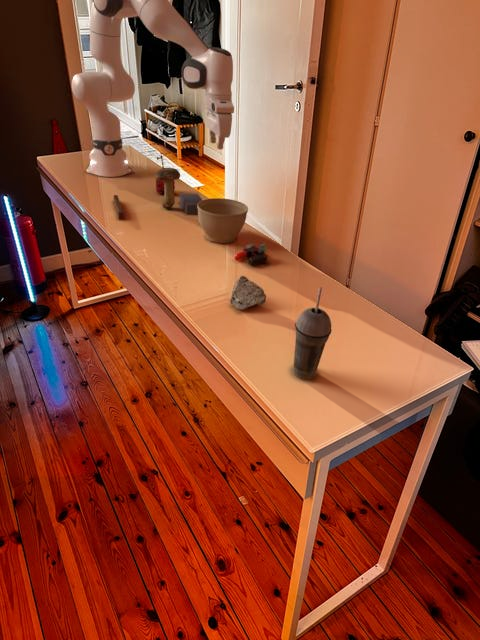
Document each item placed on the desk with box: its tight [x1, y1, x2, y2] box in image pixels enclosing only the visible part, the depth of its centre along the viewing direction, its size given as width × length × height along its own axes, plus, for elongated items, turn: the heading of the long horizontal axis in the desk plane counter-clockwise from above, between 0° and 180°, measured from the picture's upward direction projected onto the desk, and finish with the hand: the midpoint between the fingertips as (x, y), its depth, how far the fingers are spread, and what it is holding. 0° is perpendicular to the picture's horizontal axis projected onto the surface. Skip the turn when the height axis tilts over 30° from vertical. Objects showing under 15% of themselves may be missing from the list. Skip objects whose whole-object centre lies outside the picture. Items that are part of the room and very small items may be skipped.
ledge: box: [112, 194, 124, 221], centre depth 169 cm, size 18×2×2 cm, turn 18°
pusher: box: [179, 193, 203, 215], centre depth 177 cm, size 12×7×4 cm, turn 18°
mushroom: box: [155, 167, 181, 210], centre depth 171 cm, size 9×9×15 cm
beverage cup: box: [293, 286, 332, 381], centre depth 95 cm, size 7×7×20 cm
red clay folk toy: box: [155, 152, 176, 196], centre depth 186 cm, size 8×7×15 cm
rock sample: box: [229, 275, 267, 310], centre depth 121 cm, size 10×8×9 cm
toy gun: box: [233, 242, 269, 267], centre depth 144 cm, size 10×12×5 cm
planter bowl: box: [197, 197, 249, 244], centre depth 154 cm, size 16×16×11 cm
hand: (216, 145), depth 168 cm, fingers open, 8 cm apart
